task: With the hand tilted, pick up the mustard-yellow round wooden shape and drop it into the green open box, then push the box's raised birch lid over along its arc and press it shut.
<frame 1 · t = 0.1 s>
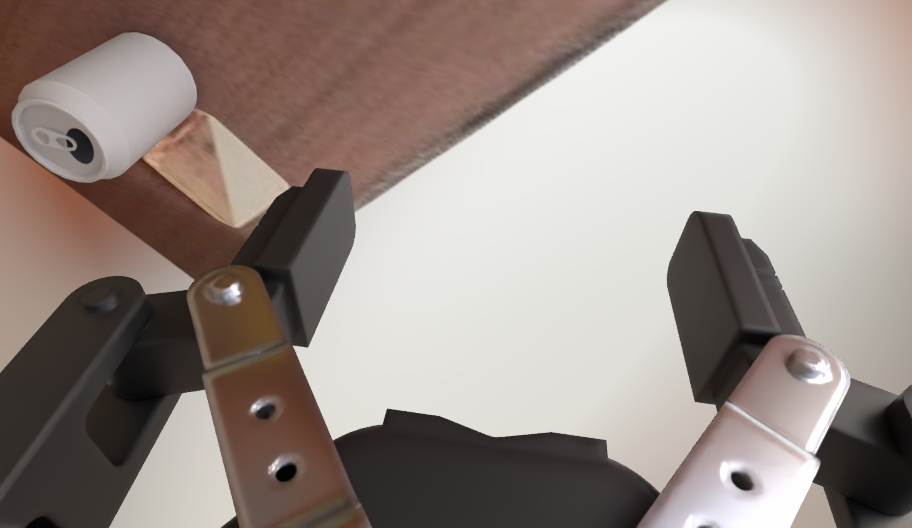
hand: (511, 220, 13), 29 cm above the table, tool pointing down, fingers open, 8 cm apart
can: (159, 74, 44), on the table
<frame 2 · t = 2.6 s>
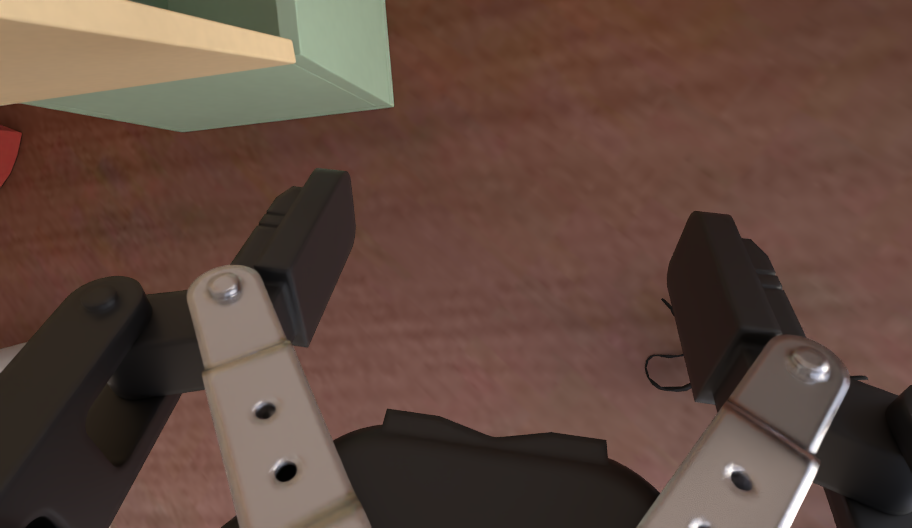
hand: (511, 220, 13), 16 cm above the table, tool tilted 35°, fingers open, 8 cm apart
creature: (715, 339, 27), on the table
can: (76, 384, 36), on the table
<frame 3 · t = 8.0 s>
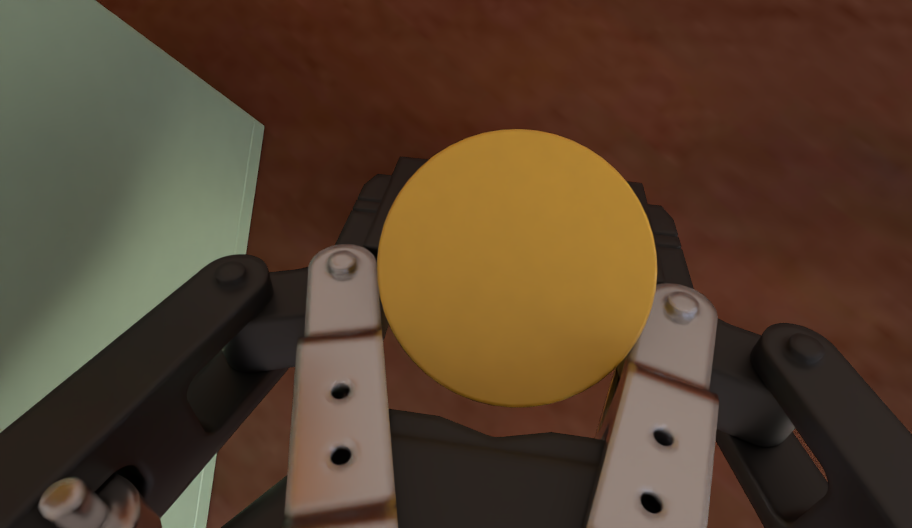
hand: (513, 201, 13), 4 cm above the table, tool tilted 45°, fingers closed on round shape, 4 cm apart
round shape: (505, 275, 13), point 5 cm above the table, touching gripper
green open box: (42, 339, 18), on the table
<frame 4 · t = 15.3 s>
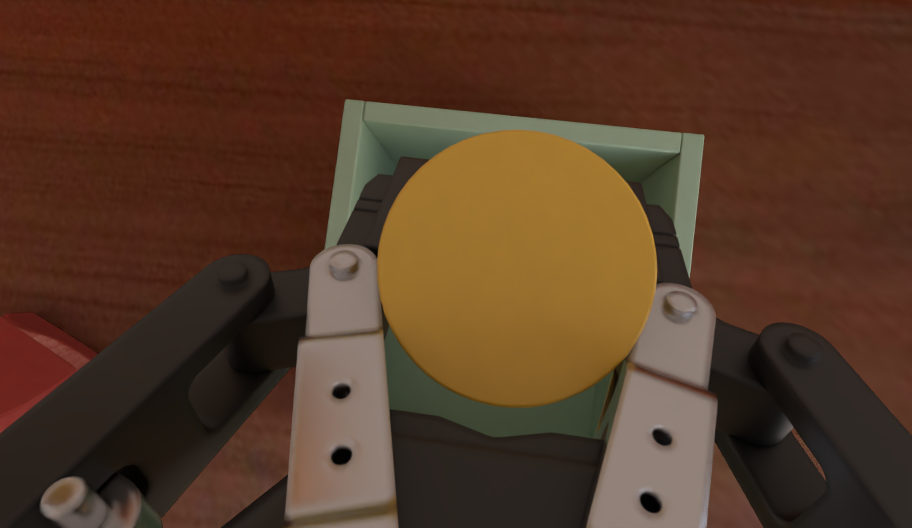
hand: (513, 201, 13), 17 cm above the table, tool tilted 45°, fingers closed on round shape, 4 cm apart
round shape: (505, 276, 13), point 18 cm above the table, touching gripper
green open box: (492, 320, 30), on the table
anatomical model: (94, 373, 32), on the table
when the fingers open (17 cm above the table, at t = 15.4 s): round shape drops 12 cm, resting on green open box.
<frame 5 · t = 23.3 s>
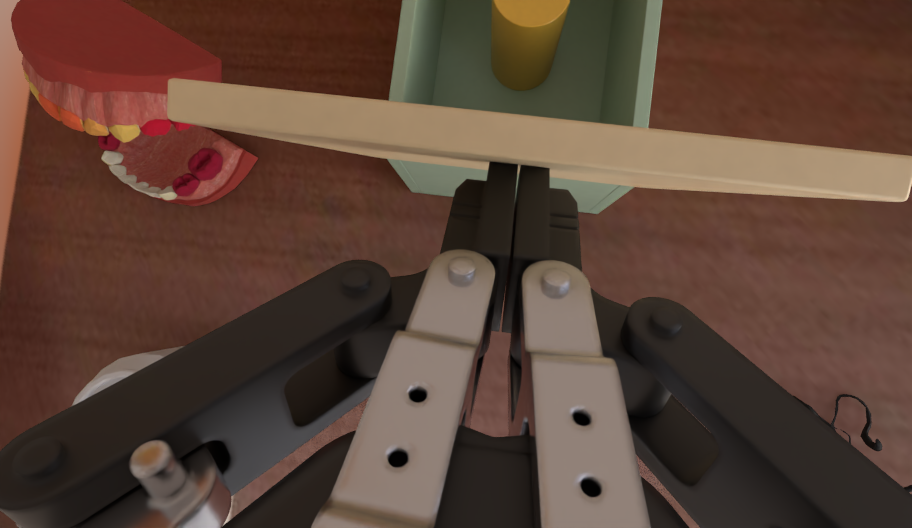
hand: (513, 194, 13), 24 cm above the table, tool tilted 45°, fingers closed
round shape: (526, 29, 33), point 5 cm above the table, touching green open box
sorter lid: (512, 157, 18), point 20 cm above the table, hinge at 102.5°, touching gripper
creature: (814, 442, 36), on the table
green open box: (517, 91, 38), on the table
can: (236, 388, 38), on the table
anatomical model: (198, 141, 40), on the table
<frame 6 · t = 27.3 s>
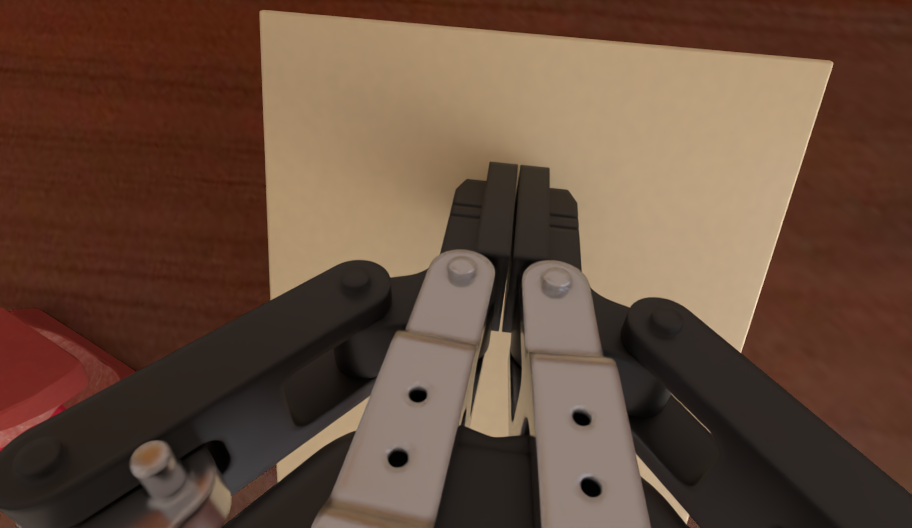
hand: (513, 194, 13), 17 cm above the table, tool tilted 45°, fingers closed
sorter lid: (493, 349, 16), point 15 cm above the table, hinge at 22.9°
anatomical model: (98, 369, 32), on the table
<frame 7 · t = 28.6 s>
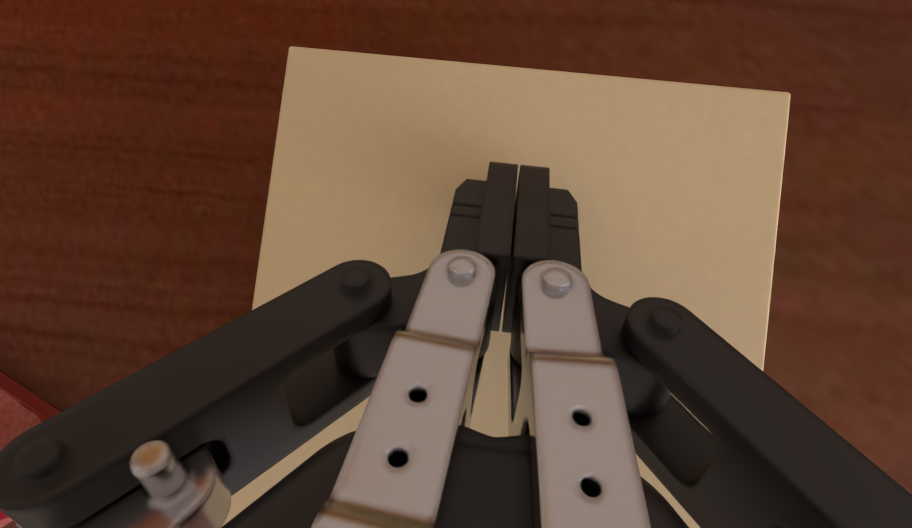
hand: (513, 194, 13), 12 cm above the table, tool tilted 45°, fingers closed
sorter lid: (491, 386, 14), point 11 cm above the table, hinge at 0.2°
anatomical model: (24, 413, 27), on the table
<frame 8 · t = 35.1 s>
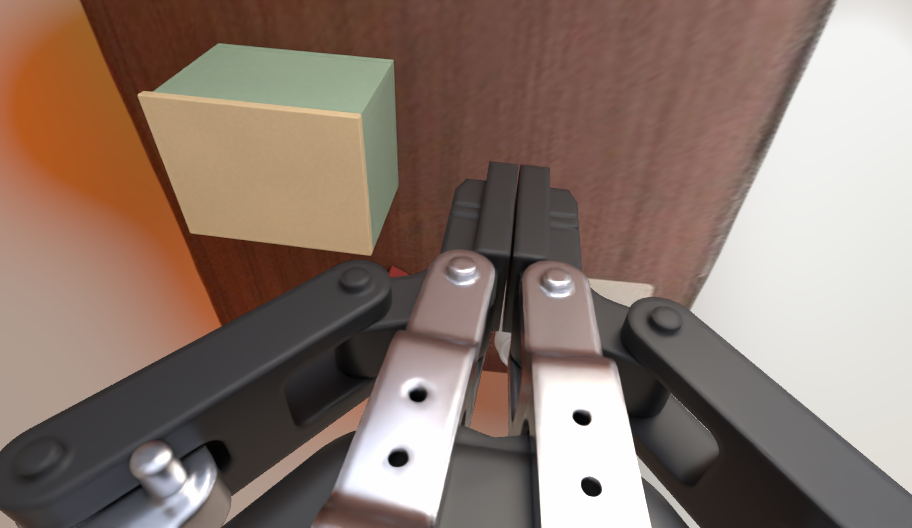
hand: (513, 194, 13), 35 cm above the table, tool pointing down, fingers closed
sorter lid: (266, 180, 44), point 11 cm above the table, hinge at -0.2°, touching green open box
green open box: (315, 119, 52), on the table
can: (532, 276, 63), on the table
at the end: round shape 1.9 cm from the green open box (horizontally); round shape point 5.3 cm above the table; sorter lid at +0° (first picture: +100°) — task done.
